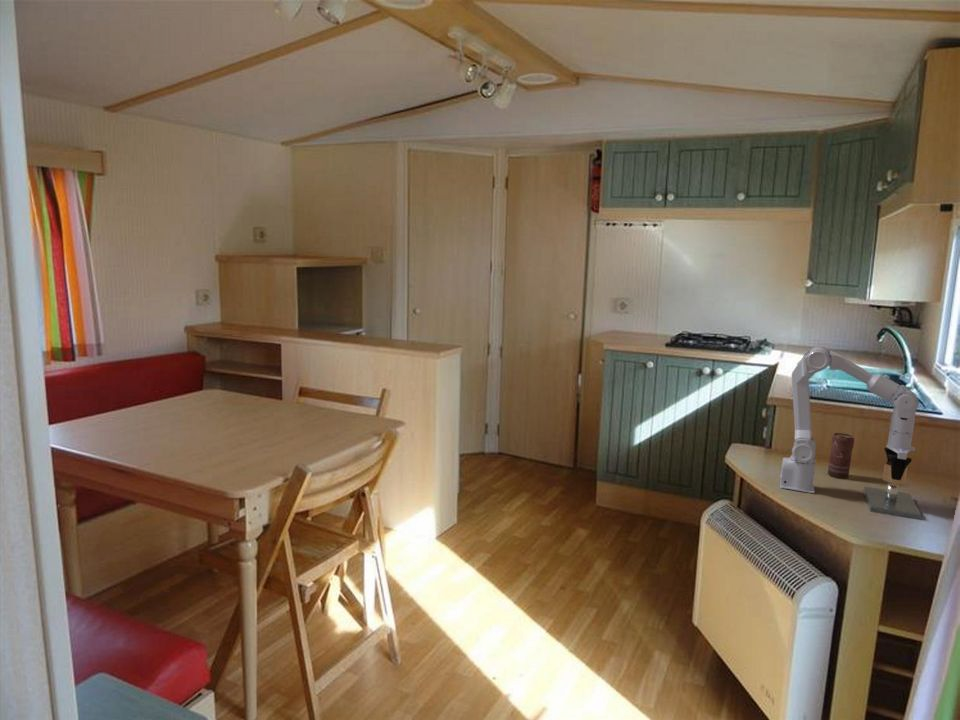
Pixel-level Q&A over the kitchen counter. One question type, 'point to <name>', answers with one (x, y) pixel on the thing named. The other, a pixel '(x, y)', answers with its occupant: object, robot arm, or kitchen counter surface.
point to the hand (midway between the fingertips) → (894, 476)
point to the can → (840, 455)
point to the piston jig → (891, 502)
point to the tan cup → (887, 474)
